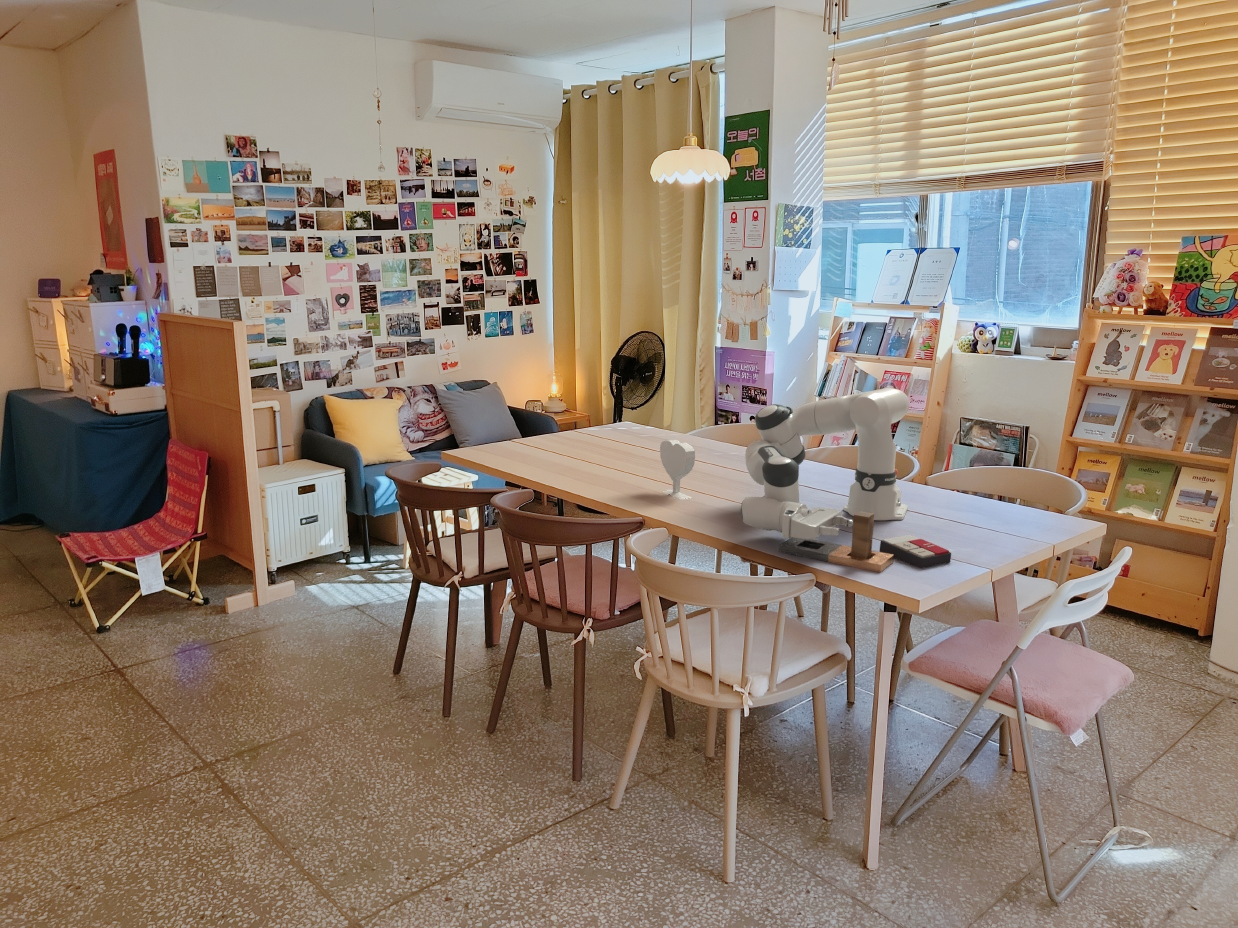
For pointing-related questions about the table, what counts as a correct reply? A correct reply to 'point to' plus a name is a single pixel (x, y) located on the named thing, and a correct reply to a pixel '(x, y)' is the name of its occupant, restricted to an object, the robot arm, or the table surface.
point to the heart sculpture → (677, 463)
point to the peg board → (835, 554)
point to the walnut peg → (862, 535)
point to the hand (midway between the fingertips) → (845, 527)
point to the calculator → (915, 551)
